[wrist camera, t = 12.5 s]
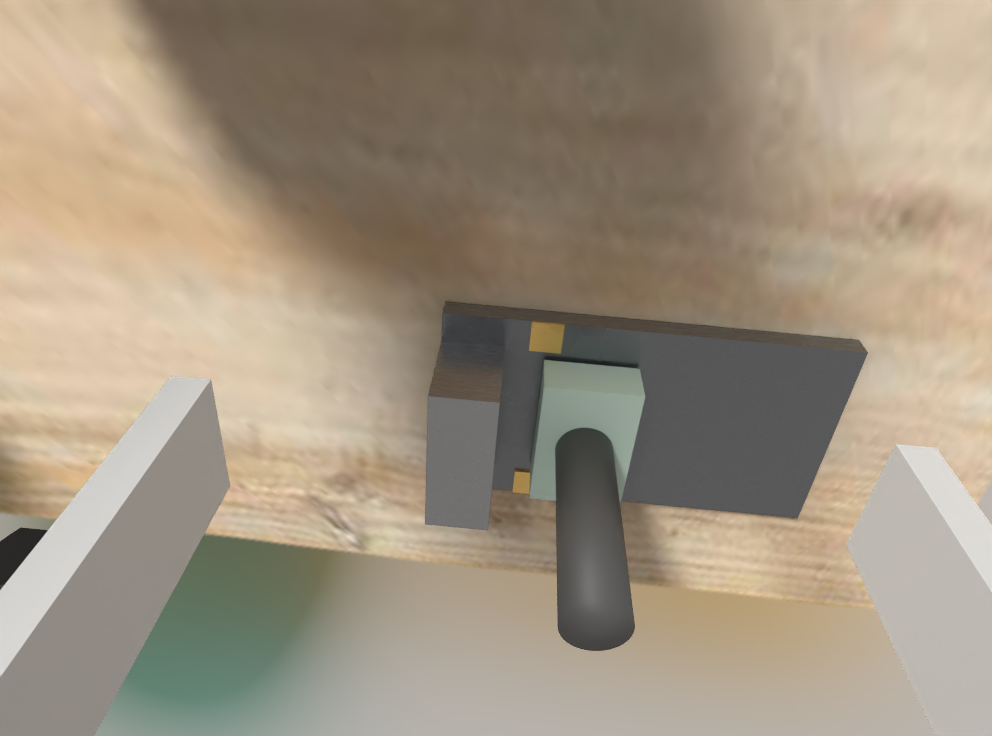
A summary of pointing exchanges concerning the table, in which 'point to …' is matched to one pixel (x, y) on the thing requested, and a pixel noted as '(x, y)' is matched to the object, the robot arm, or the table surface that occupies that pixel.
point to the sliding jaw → (588, 493)
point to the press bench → (665, 415)
